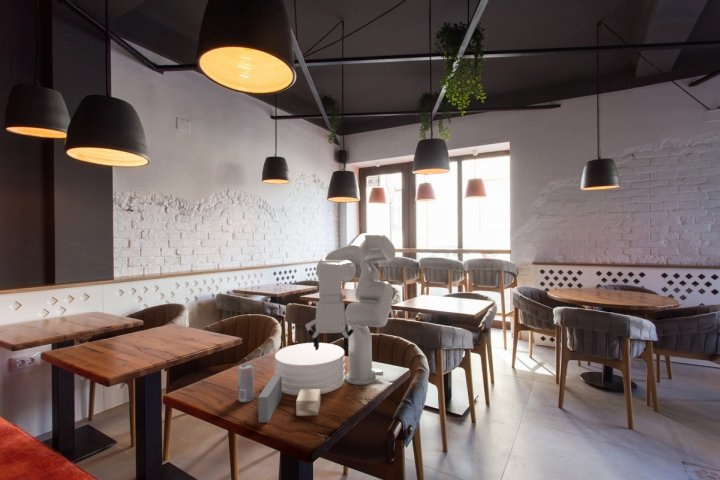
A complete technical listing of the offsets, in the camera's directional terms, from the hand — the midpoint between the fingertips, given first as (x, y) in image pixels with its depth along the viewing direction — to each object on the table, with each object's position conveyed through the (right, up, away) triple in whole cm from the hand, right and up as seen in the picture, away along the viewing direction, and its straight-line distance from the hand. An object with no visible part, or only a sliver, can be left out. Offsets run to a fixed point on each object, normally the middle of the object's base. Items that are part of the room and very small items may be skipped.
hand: (331, 348), depth 120 cm
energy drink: (-31, -21, +8) cm, 39 cm away
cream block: (-8, -21, 0) cm, 22 cm away
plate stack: (-10, -21, +24) cm, 34 cm away
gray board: (-21, -21, +1) cm, 29 cm away
